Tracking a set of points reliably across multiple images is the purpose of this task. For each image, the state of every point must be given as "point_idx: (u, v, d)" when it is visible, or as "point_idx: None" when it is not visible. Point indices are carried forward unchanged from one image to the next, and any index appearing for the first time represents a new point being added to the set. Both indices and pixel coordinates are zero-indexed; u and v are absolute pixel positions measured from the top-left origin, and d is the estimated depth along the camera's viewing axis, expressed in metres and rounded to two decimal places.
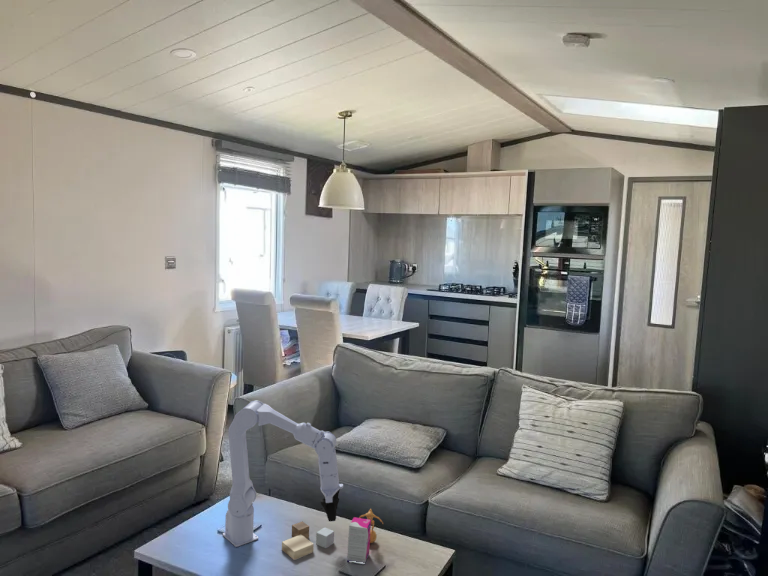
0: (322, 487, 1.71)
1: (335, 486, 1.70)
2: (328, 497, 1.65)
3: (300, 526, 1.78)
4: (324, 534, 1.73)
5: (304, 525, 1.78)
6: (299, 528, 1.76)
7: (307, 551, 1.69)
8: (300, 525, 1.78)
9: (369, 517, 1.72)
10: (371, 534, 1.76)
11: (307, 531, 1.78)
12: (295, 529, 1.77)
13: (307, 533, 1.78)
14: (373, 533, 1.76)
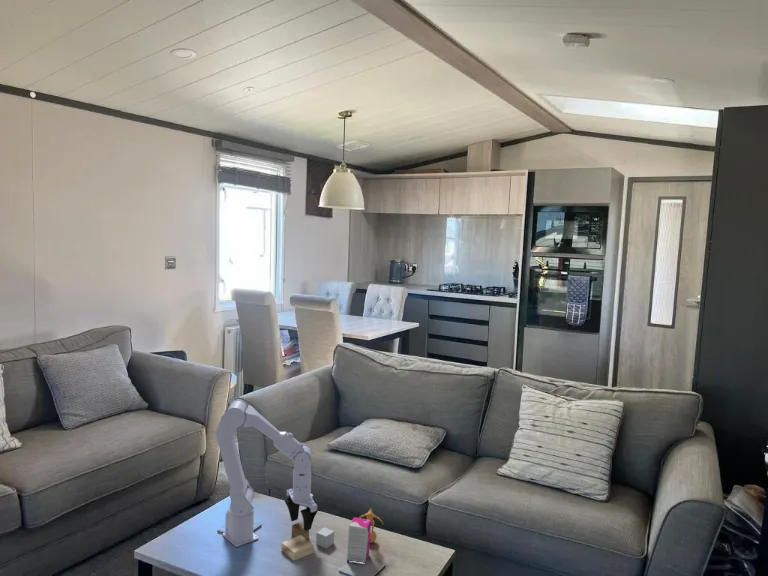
0: (298, 499, 1.75)
1: (310, 495, 1.77)
2: (314, 506, 1.72)
3: (300, 526, 1.78)
4: (324, 534, 1.73)
5: None
6: (299, 528, 1.76)
7: (306, 552, 1.68)
8: (300, 525, 1.78)
9: (369, 517, 1.72)
10: (371, 534, 1.76)
11: (307, 531, 1.78)
12: (295, 529, 1.77)
13: (307, 533, 1.78)
14: (373, 533, 1.76)
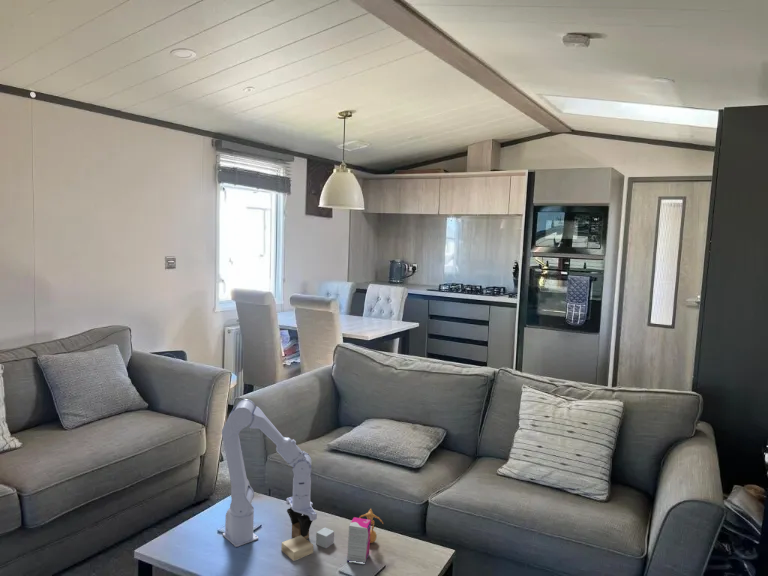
0: (298, 507, 1.75)
1: (309, 504, 1.77)
2: (314, 515, 1.72)
3: None
4: (324, 534, 1.73)
5: None
6: (299, 528, 1.76)
7: (306, 552, 1.68)
8: None
9: (369, 517, 1.72)
10: (371, 534, 1.76)
11: None
12: (295, 529, 1.77)
13: None
14: (373, 533, 1.76)
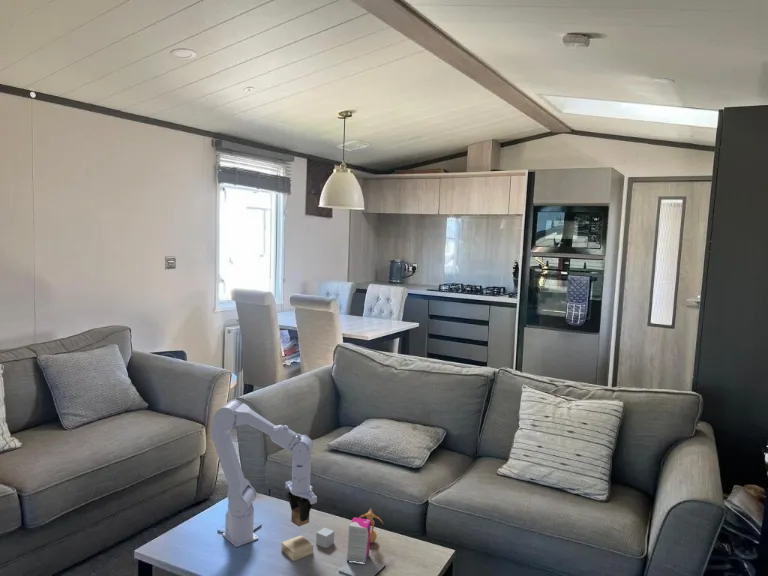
0: (298, 491, 1.71)
1: (309, 487, 1.73)
2: (314, 498, 1.69)
3: None
4: (324, 534, 1.73)
5: None
6: (299, 512, 1.73)
7: (306, 552, 1.68)
8: None
9: (369, 517, 1.72)
10: (371, 534, 1.76)
11: None
12: (295, 513, 1.73)
13: None
14: (373, 533, 1.76)
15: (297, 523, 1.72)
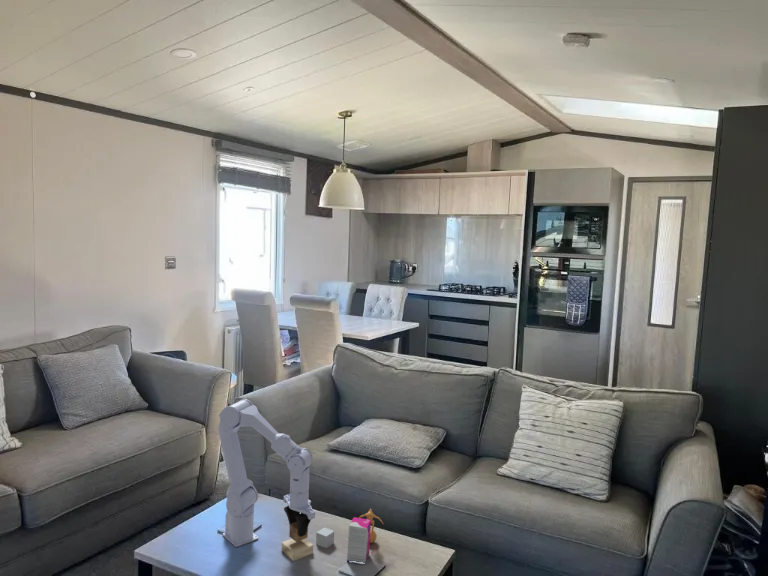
0: (296, 505, 1.67)
1: (308, 502, 1.69)
2: (312, 513, 1.64)
3: None
4: (324, 534, 1.73)
5: None
6: (297, 527, 1.68)
7: (306, 552, 1.68)
8: None
9: (369, 517, 1.72)
10: (371, 534, 1.76)
11: None
12: (293, 528, 1.69)
13: (306, 533, 1.70)
14: (373, 533, 1.76)
15: (295, 538, 1.68)
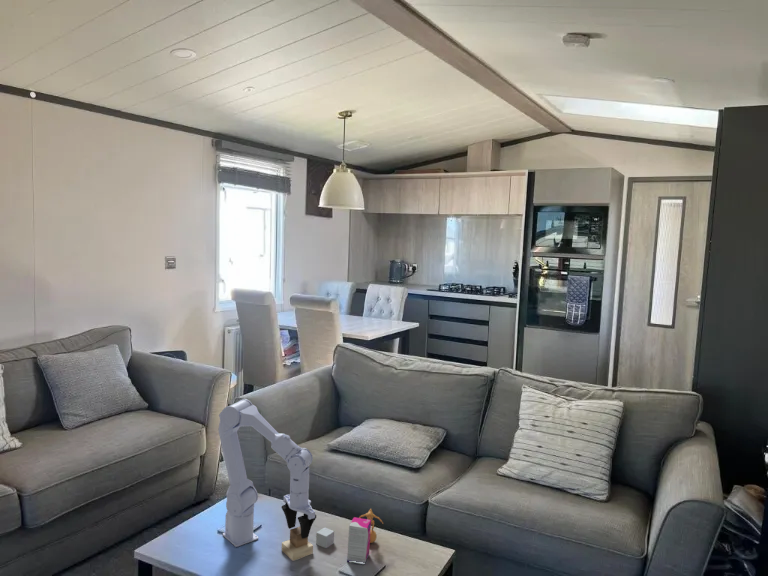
0: (296, 505, 1.67)
1: (308, 502, 1.69)
2: (312, 513, 1.64)
3: (298, 531, 1.70)
4: (324, 534, 1.73)
5: None
6: (297, 533, 1.68)
7: (306, 552, 1.68)
8: (298, 530, 1.70)
9: (369, 517, 1.72)
10: (371, 534, 1.76)
11: (306, 537, 1.69)
12: (293, 534, 1.69)
13: (306, 539, 1.70)
14: (373, 533, 1.76)
15: (295, 544, 1.68)
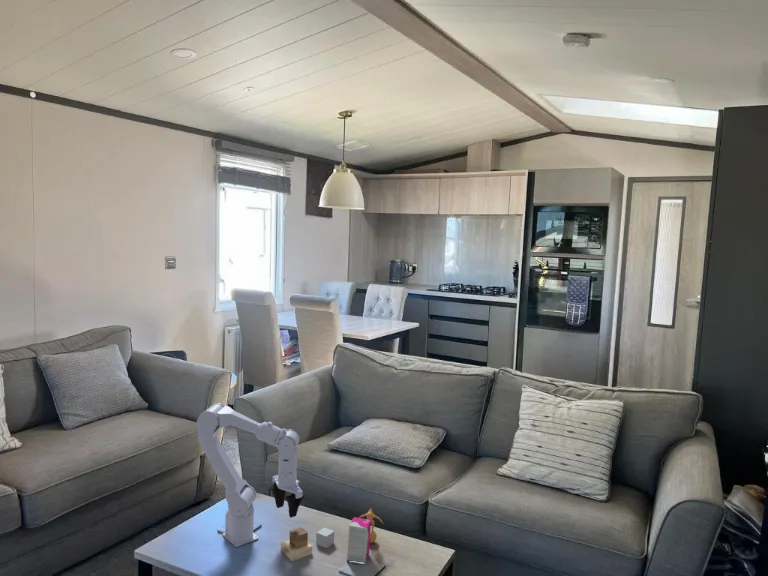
0: (284, 485, 1.71)
1: (295, 482, 1.74)
2: (299, 492, 1.69)
3: (298, 532, 1.69)
4: (324, 534, 1.73)
5: (302, 531, 1.70)
6: (297, 534, 1.68)
7: (305, 553, 1.68)
8: (298, 531, 1.70)
9: (369, 517, 1.72)
10: (371, 534, 1.76)
11: (305, 537, 1.69)
12: (293, 535, 1.68)
13: (306, 540, 1.69)
14: (373, 533, 1.76)
15: (295, 545, 1.68)
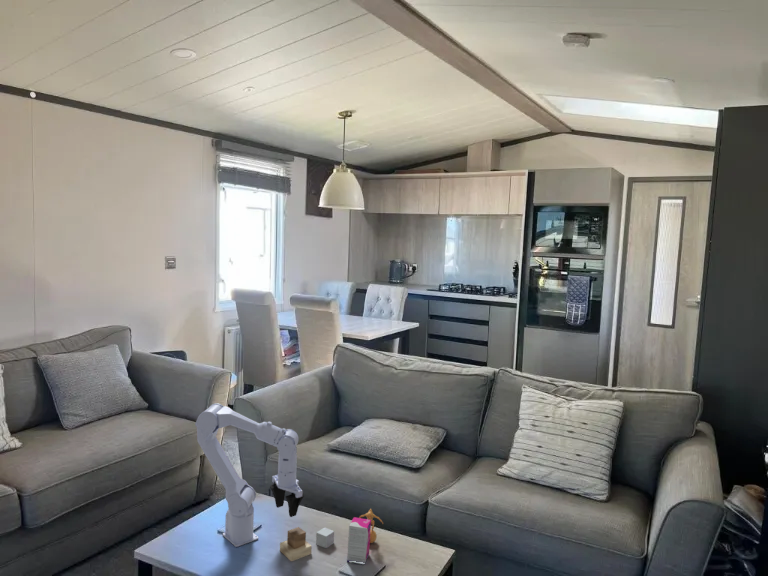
0: (283, 485, 1.72)
1: (295, 481, 1.74)
2: (299, 492, 1.69)
3: (296, 532, 1.69)
4: (324, 534, 1.73)
5: (300, 531, 1.70)
6: (295, 534, 1.68)
7: (304, 553, 1.68)
8: (296, 531, 1.70)
9: (369, 517, 1.72)
10: (371, 534, 1.76)
11: (303, 537, 1.69)
12: (291, 535, 1.68)
13: (304, 540, 1.69)
14: (373, 533, 1.76)
15: (293, 545, 1.67)
